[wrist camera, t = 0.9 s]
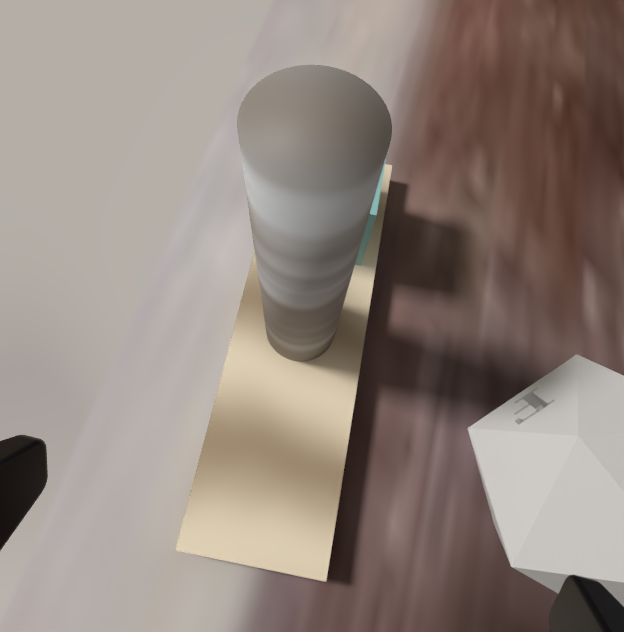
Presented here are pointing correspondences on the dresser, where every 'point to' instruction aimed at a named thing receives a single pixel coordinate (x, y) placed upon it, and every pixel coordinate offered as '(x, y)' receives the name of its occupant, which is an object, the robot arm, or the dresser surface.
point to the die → (559, 475)
